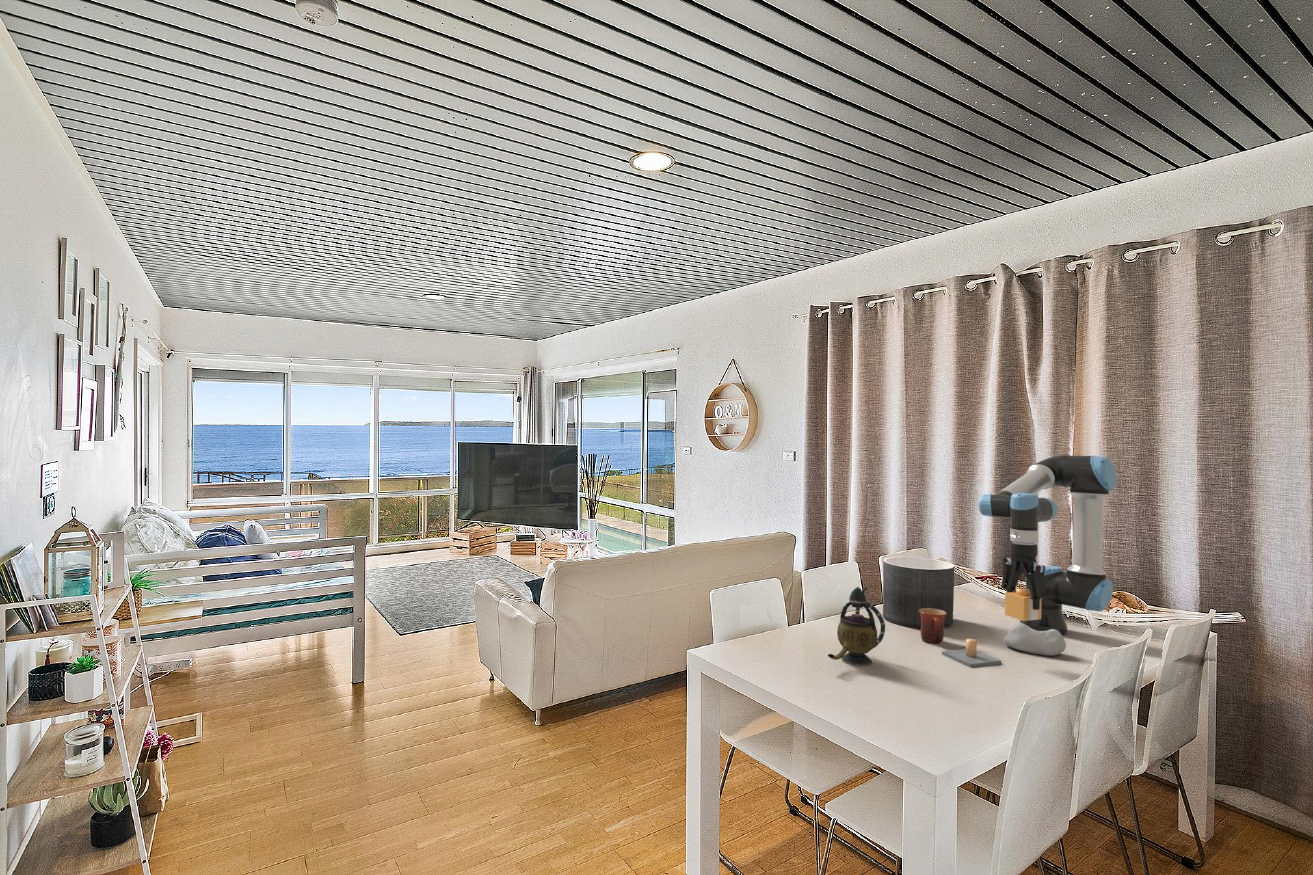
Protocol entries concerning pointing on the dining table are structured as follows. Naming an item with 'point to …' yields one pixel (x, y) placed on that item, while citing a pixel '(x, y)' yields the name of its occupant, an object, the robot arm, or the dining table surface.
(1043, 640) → the decorative stone
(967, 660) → the plate
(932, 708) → the dining table surface
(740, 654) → the dining table surface
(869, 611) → the teapot
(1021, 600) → the orange cube with dome
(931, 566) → the planter
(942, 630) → the mug
